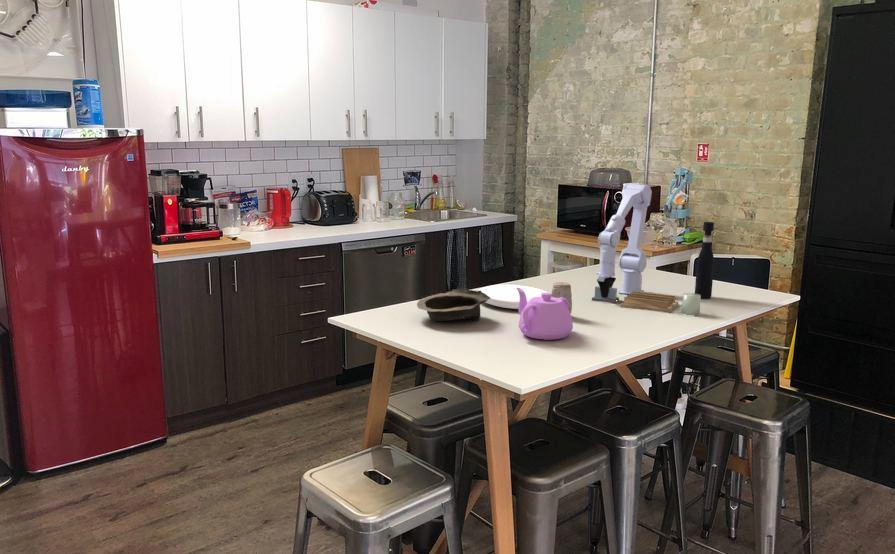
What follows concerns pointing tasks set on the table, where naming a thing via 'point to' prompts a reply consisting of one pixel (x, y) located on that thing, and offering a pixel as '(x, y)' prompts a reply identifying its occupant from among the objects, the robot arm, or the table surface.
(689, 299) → the pale green cylinder
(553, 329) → the teapot
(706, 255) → the black thermos bottle
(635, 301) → the dish rack
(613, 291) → the light blue slab
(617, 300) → the drying stand
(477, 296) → the stone bowl
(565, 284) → the carving
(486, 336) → the table surface
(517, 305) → the plate
